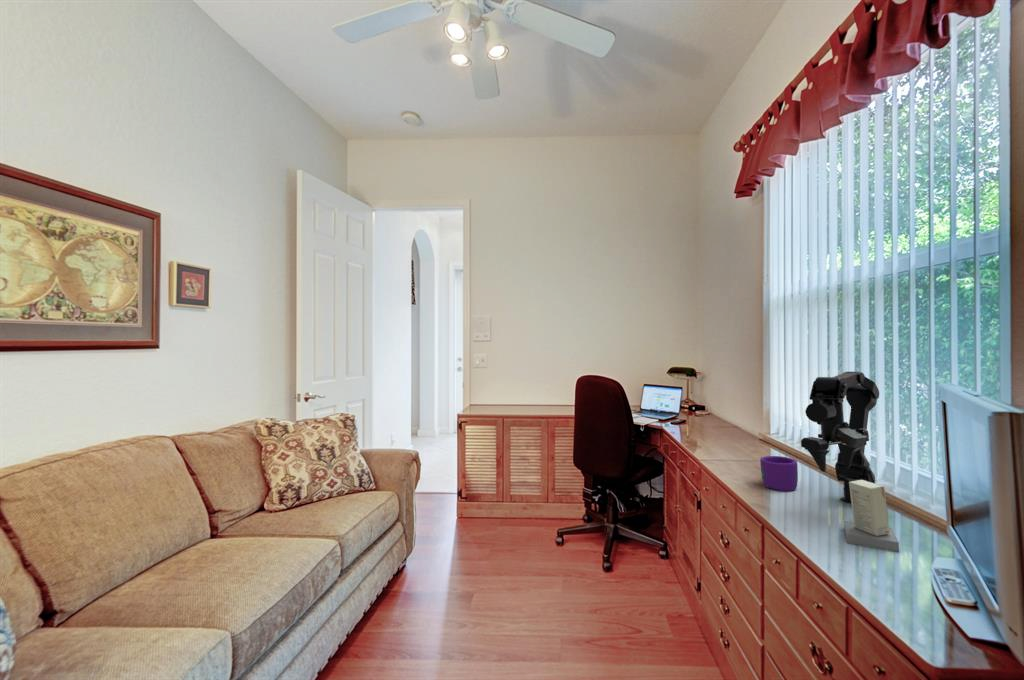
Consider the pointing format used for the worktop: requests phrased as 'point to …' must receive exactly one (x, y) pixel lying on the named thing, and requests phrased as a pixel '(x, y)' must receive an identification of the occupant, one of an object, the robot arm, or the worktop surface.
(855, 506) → the skincare box
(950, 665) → the worktop surface
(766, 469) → the purple oval open container
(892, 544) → the flat gray square pad
